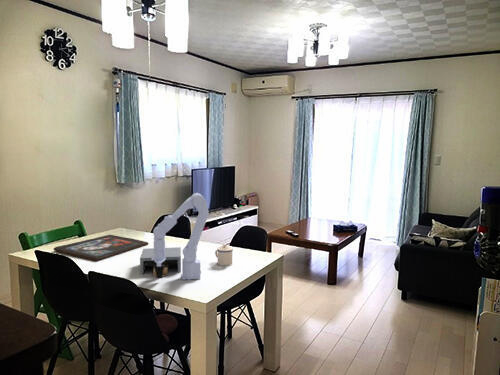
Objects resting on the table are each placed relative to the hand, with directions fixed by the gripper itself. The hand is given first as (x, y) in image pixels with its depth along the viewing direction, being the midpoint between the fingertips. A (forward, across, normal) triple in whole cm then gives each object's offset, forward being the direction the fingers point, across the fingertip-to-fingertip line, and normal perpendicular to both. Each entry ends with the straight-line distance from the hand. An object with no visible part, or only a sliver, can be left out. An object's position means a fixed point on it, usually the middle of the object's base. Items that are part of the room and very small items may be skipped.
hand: (159, 275), depth 187 cm
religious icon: (+3, -63, -40) cm, 75 cm away
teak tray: (+2, -13, 0) cm, 13 cm away
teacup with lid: (+2, -21, +35) cm, 41 cm away
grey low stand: (+2, -18, 0) cm, 18 cm away
